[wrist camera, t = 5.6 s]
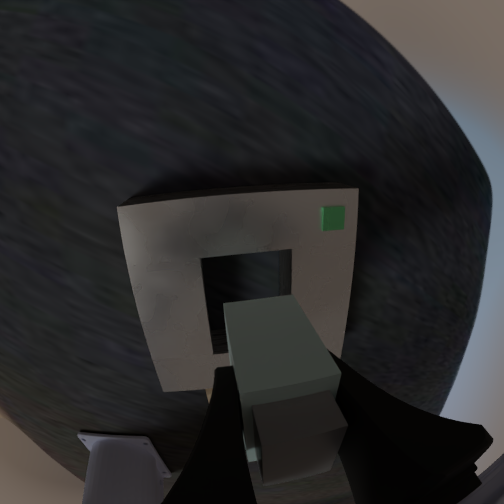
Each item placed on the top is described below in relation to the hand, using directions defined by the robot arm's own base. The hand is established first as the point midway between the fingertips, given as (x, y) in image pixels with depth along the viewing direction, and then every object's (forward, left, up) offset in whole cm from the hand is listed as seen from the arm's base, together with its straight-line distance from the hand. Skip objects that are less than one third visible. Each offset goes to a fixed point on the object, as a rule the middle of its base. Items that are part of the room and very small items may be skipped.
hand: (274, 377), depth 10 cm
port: (0, 0, -8) cm, 8 cm away
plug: (0, 0, -3) cm, 3 cm away
